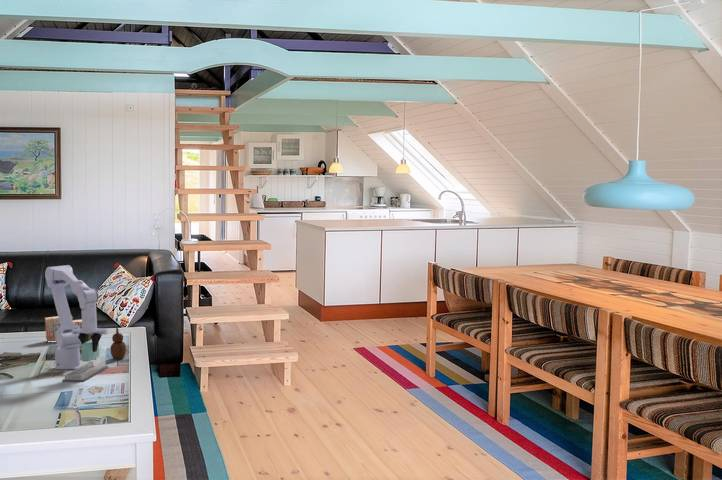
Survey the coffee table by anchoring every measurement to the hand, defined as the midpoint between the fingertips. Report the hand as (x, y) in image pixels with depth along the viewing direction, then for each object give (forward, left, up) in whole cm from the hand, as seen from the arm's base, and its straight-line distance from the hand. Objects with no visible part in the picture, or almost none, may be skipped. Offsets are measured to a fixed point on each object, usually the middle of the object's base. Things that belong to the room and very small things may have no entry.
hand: (90, 351), depth 299 cm
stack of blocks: (-43, +65, -10) cm, 79 cm away
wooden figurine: (0, +26, -10) cm, 28 cm away
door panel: (0, 0, -3) cm, 3 cm away
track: (-2, -1, -9) cm, 10 cm away
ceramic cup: (-24, +45, -10) cm, 52 cm away
